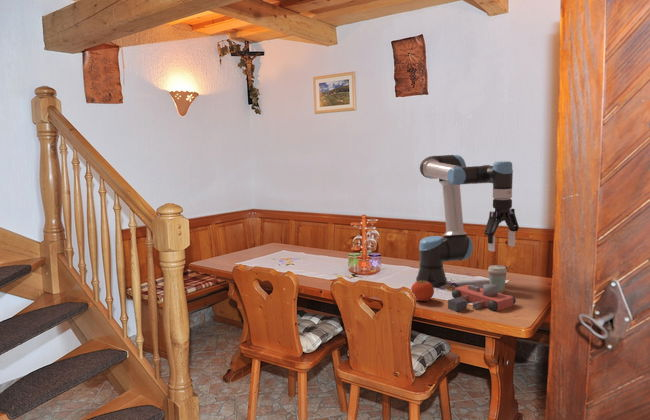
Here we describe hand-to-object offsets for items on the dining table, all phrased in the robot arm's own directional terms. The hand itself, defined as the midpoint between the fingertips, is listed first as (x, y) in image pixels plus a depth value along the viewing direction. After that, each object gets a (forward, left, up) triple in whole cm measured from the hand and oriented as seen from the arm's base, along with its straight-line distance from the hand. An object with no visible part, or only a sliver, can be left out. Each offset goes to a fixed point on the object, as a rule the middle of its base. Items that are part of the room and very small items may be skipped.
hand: (501, 248), depth 201 cm
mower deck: (-9, -1, -25) cm, 27 cm away
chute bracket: (-9, -9, -25) cm, 28 cm away
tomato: (-26, -21, -25) cm, 42 cm away
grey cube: (-9, -17, -25) cm, 32 cm away
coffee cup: (-14, +15, -25) cm, 32 cm away
